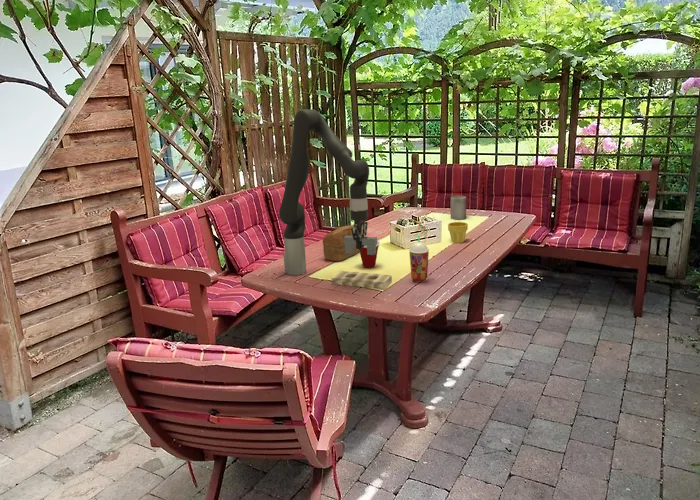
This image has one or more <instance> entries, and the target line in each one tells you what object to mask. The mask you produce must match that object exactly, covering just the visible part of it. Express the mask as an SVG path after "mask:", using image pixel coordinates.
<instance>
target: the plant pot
mask: <svg viewBox="0 0 700 500" xmlns="http://www.w3.org/2000/svg"><path fill="white" fill-rule="evenodd" d="M468 229H469V226H468V223H467V222H463V221H453V222H449V223H447V230H448V232H449V234H450V240H451V242H452V243H455V244H460V243H461V244H462V243H464V242H465V238H466V234H467V231H468Z"/></svg>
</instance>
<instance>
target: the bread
mask: <svg viewBox="0 0 700 500" xmlns="http://www.w3.org/2000/svg"><path fill="white" fill-rule="evenodd" d="M352 228H354V224H347V225H344V226H339V227H337V228H336V229H334V230H333V231H330V232H329V233H327V234H326V235H325V236H323V239H322V247H323V256H324V259H325V260H328V261H332V262H333V261H335V262H338V261H340V262H341V261H344V260H346V259H348V258H349V257H352V256H354V255H356V254H357V253H360V250H359V249H356V245H354V250H355V252H353V253H352V254H351V253H346V252H345V244H344V237H345V236H353V235H352V231H351V229H352Z"/></svg>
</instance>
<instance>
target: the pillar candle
mask: <svg viewBox="0 0 700 500" xmlns="http://www.w3.org/2000/svg"><path fill="white" fill-rule="evenodd" d="M450 219H451V220H453V221H457V220H458V221H463V220H466V219H467V196H465V195H452V196H450Z"/></svg>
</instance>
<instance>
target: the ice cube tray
mask: <svg viewBox="0 0 700 500" xmlns="http://www.w3.org/2000/svg"><path fill="white" fill-rule="evenodd" d="M391 283H393V275H392V274H382V273H380V274H379V273H368V272H358V271H347V270H340V271H338V272H337V273H336V274H335V275H333V276H332V277H331V285H335V286H344V285H345V286H346V287H347V286H348V287H355V288H357V287H359V288H366V289H367V288H368V289H377V290H378V289H379V290H385V289H386V288H387V287H388V286H390V284H391Z"/></svg>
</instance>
